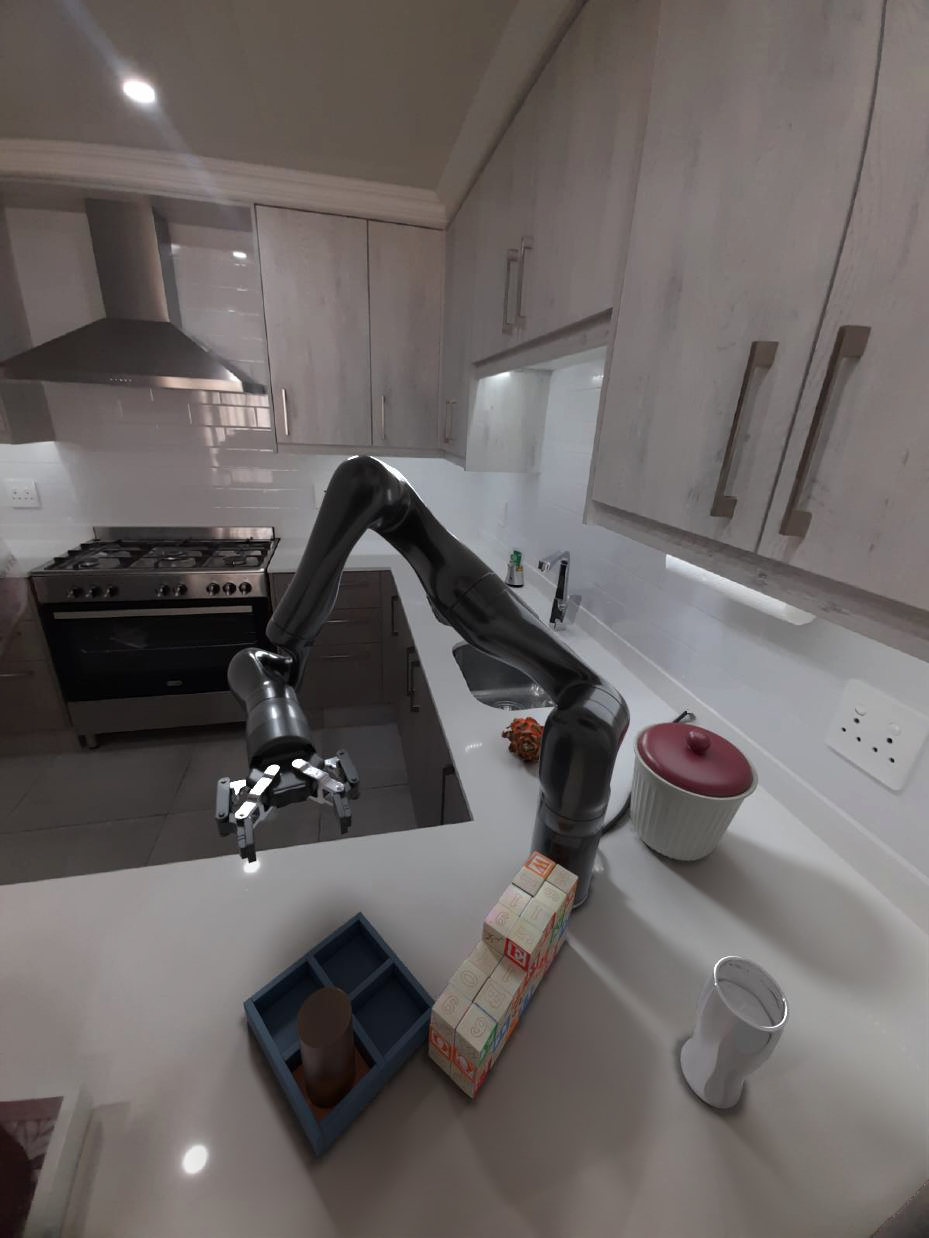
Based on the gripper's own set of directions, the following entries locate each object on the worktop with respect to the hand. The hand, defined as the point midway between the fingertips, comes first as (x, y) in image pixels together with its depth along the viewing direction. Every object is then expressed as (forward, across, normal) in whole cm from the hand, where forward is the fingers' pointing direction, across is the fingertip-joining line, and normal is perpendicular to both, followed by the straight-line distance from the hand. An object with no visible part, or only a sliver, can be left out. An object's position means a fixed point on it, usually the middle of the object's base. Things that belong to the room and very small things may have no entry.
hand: (299, 841), depth 47 cm
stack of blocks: (+8, +21, +26) cm, 34 cm away
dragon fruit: (-29, +47, +26) cm, 61 cm away
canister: (-2, +59, +26) cm, 64 cm away
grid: (+3, +2, +26) cm, 26 cm away
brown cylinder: (+8, 0, +25) cm, 27 cm away
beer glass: (+24, +37, +26) cm, 52 cm away
